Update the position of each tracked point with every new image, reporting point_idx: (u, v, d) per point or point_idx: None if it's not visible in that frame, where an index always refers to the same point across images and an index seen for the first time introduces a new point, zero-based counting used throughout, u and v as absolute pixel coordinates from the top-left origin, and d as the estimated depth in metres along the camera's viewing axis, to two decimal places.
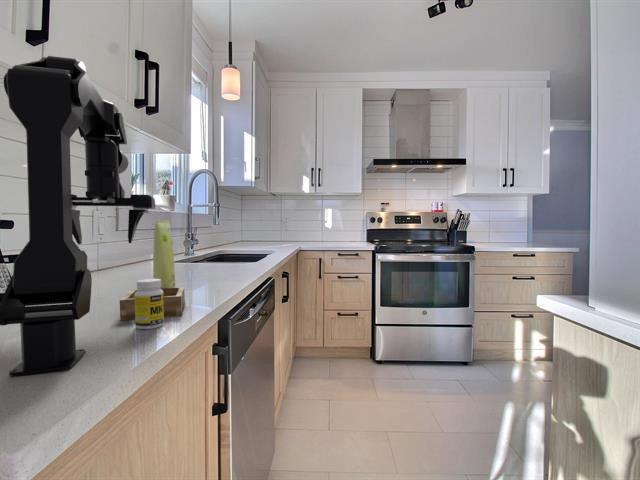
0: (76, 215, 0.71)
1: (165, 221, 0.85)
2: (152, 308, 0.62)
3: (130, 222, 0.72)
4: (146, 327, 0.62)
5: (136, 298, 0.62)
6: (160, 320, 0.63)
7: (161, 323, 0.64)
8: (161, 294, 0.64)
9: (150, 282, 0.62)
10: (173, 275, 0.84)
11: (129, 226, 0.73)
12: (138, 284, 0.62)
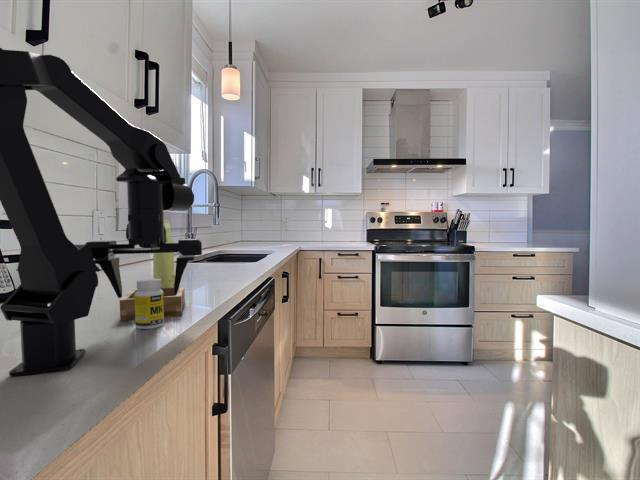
0: (116, 264, 0.62)
1: (165, 221, 0.85)
2: (152, 308, 0.62)
3: (177, 272, 0.63)
4: (146, 327, 0.62)
5: (136, 297, 0.62)
6: (160, 320, 0.63)
7: (161, 323, 0.64)
8: (161, 294, 0.64)
9: (150, 282, 0.62)
10: (173, 275, 0.84)
11: (176, 276, 0.63)
12: (138, 284, 0.62)
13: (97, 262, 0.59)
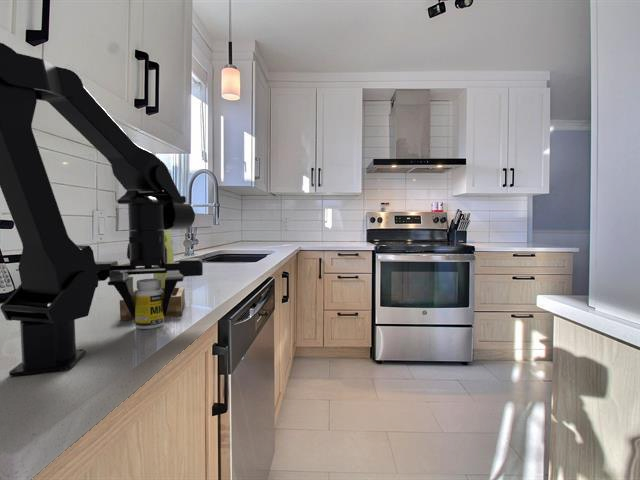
0: (130, 285, 0.63)
1: None
2: (152, 308, 0.62)
3: (166, 293, 0.63)
4: (146, 327, 0.62)
5: (136, 297, 0.62)
6: (160, 320, 0.63)
7: (161, 323, 0.64)
8: (161, 294, 0.64)
9: (150, 282, 0.62)
10: None
11: (165, 297, 0.63)
12: (138, 284, 0.62)
13: (112, 284, 0.59)
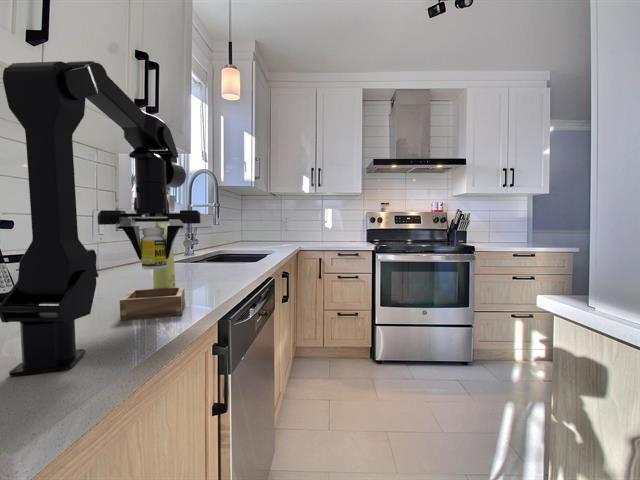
0: (137, 231, 0.72)
1: None
2: (156, 251, 0.71)
3: (168, 238, 0.72)
4: (151, 267, 0.71)
5: (142, 242, 0.71)
6: (163, 262, 0.72)
7: (164, 265, 0.73)
8: (164, 240, 0.73)
9: (154, 228, 0.71)
10: (173, 275, 0.84)
11: (167, 242, 0.72)
12: (144, 230, 0.71)
13: (122, 227, 0.68)
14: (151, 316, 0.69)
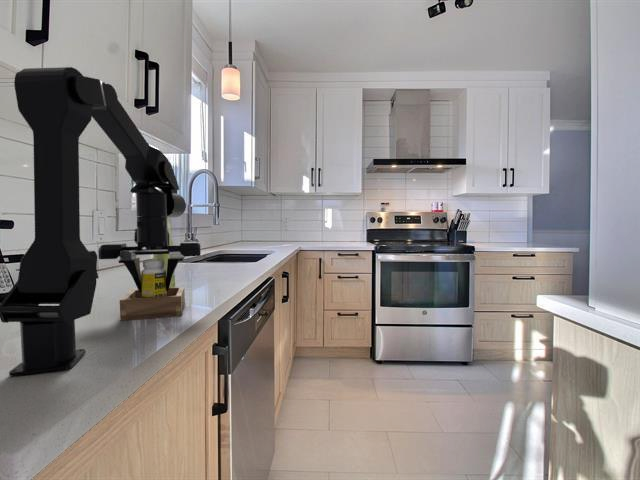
0: (138, 264, 0.73)
1: None
2: (156, 284, 0.72)
3: (168, 271, 0.72)
4: None
5: (142, 275, 0.72)
6: (163, 294, 0.73)
7: None
8: (164, 272, 0.73)
9: (155, 261, 0.72)
10: (173, 275, 0.84)
11: (167, 275, 0.73)
12: (144, 263, 0.72)
13: (122, 261, 0.69)
14: (151, 316, 0.69)
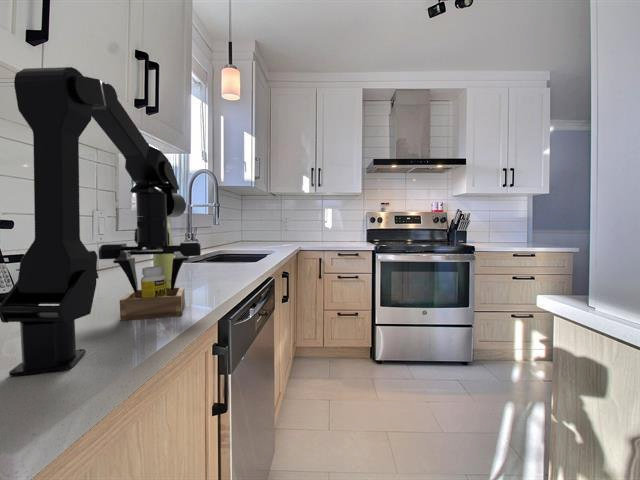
0: (133, 264, 0.72)
1: None
2: (156, 291, 0.72)
3: (173, 270, 0.73)
4: None
5: (142, 282, 0.72)
6: None
7: None
8: (164, 279, 0.73)
9: (154, 269, 0.72)
10: None
11: (172, 274, 0.73)
12: (143, 271, 0.72)
13: (117, 262, 0.69)
14: (151, 316, 0.69)
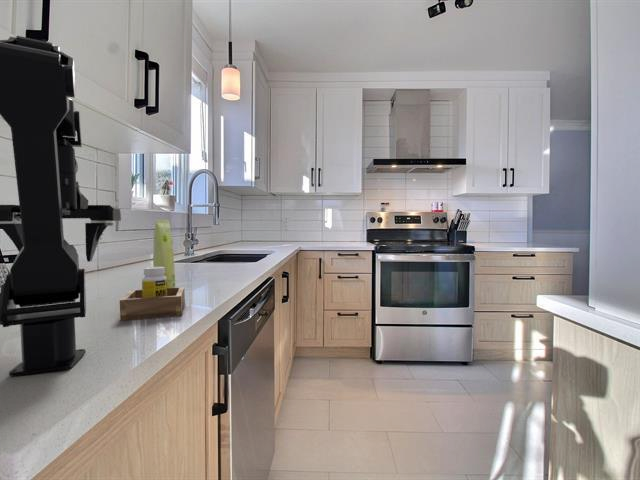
0: None
1: (165, 221, 0.85)
2: (157, 291, 0.72)
3: (88, 237, 0.62)
4: None
5: (143, 282, 0.72)
6: None
7: None
8: (165, 279, 0.74)
9: (155, 269, 0.72)
10: (173, 275, 0.84)
11: (87, 242, 0.62)
12: (145, 271, 0.72)
13: None
14: (151, 316, 0.69)
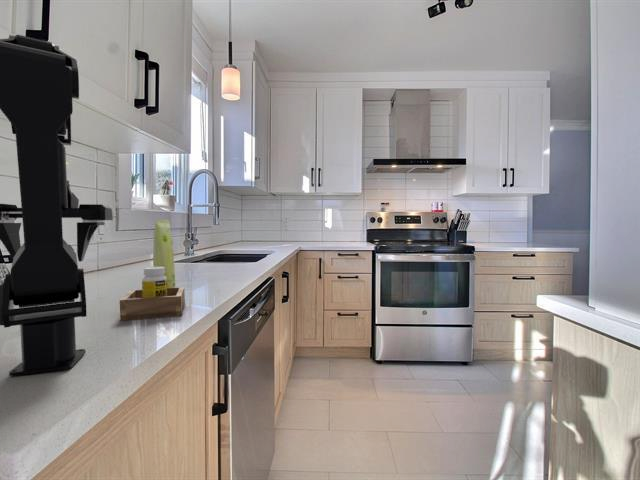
0: (14, 229, 0.60)
1: (165, 221, 0.85)
2: (157, 292, 0.72)
3: (79, 237, 0.61)
4: None
5: (143, 282, 0.72)
6: None
7: None
8: (165, 280, 0.73)
9: (155, 269, 0.72)
10: (173, 275, 0.84)
11: (78, 242, 0.61)
12: (145, 271, 0.72)
13: None
14: (151, 316, 0.69)
